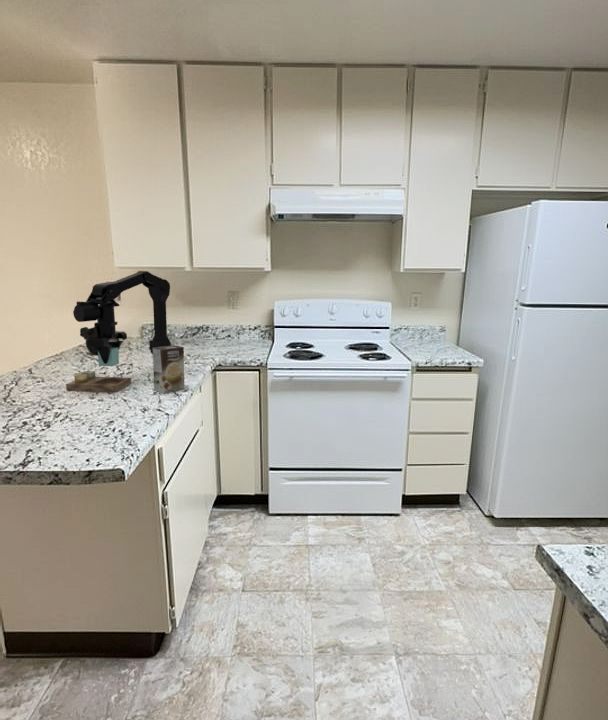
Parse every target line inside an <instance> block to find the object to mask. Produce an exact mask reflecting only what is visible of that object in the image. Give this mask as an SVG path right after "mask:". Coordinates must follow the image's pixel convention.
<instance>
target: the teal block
mask: <svg viewBox="0 0 608 720" xmlns="http://www.w3.org/2000/svg"><path fill="white" fill-rule="evenodd" d="M119 356H120V355H119V350H118V348H115V347H111V351H110V355H109V359H108V362H107V364H104V363H103V360H102V358H101V356H100V354H99V352H98V353H97V360H98V367H114V366H117V365H119V364H120V357H119Z"/></svg>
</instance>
